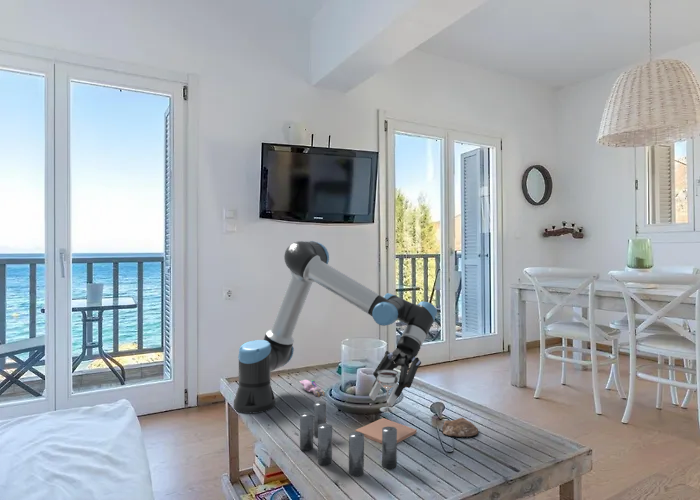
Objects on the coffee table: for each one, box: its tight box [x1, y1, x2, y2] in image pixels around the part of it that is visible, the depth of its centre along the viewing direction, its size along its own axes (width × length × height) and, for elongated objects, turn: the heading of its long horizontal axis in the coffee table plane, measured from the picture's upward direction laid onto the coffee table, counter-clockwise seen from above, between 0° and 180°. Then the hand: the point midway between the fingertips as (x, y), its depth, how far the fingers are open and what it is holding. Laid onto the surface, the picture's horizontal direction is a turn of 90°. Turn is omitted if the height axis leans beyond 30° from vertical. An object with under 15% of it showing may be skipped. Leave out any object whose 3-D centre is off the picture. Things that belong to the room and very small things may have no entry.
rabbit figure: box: [299, 379, 326, 397], centre depth 181 cm, size 6×6×15 cm
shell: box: [442, 417, 480, 439], centre depth 145 cm, size 12×13×4 cm
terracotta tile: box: [354, 417, 417, 445], centre depth 142 cm, size 14×14×1 cm
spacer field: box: [299, 400, 398, 478], centre depth 126 cm, size 32×15×10 cm, turn 47°
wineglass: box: [377, 369, 399, 413], centre depth 142 cm, size 7×7×12 cm
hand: (380, 401), depth 139 cm, fingers closed on wineglass, 7 cm apart
